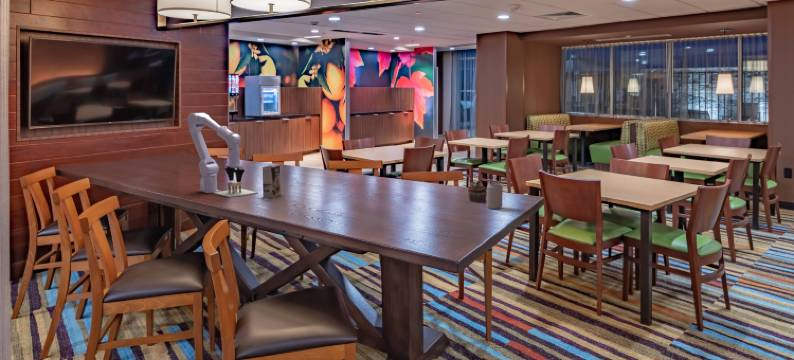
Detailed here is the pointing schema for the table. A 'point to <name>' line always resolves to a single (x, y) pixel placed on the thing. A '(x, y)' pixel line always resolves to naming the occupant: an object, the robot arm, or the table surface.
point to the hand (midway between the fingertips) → (235, 181)
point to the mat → (243, 192)
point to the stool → (234, 187)
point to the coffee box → (271, 181)
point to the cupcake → (477, 192)
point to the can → (494, 196)
